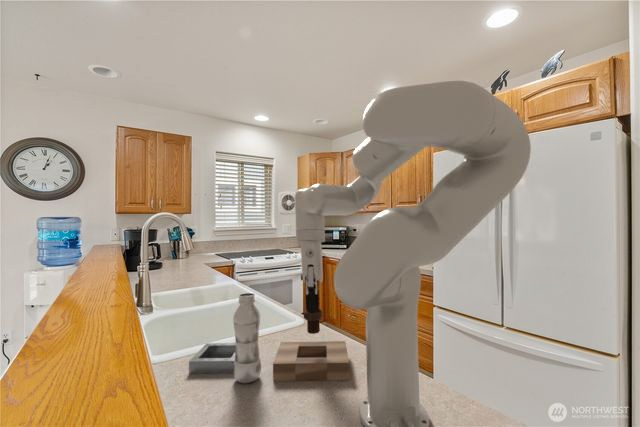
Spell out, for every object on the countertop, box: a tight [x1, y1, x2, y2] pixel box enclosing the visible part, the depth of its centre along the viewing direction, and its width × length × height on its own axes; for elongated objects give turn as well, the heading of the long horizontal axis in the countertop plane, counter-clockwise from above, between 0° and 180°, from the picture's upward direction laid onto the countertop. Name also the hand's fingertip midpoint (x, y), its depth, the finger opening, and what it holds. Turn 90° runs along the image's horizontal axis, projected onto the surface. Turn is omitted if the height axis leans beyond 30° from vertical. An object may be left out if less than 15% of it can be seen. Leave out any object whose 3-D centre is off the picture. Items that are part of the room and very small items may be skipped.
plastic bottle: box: [232, 292, 262, 384], centre depth 67 cm, size 6×7×20 cm
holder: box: [188, 342, 236, 375], centre depth 75 cm, size 10×12×3 cm
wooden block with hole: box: [272, 340, 351, 382], centre depth 72 cm, size 12×18×4 cm, turn 89°
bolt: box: [300, 273, 323, 335], centre depth 72 cm, size 6×5×15 cm
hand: (312, 307), depth 72 cm, fingers closed on bolt, 3 cm apart
